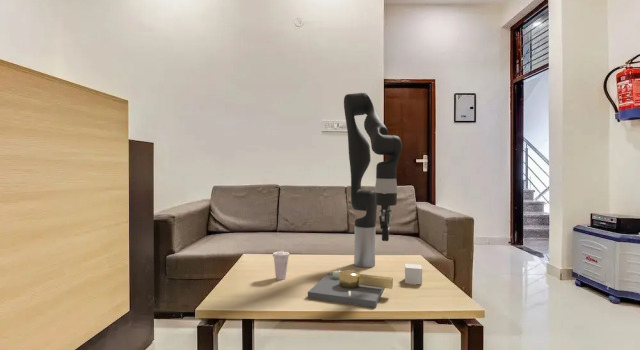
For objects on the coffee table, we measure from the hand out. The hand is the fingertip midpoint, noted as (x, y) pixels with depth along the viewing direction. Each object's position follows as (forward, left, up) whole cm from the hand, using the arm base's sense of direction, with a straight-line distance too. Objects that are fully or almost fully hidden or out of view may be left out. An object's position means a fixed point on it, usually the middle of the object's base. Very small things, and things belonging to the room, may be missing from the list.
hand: (385, 240), depth 118 cm
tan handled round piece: (+7, -5, -15) cm, 17 cm away
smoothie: (+3, -39, -17) cm, 43 cm away
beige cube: (-12, +9, -17) cm, 23 cm away
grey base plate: (+7, -11, -17) cm, 21 cm away
